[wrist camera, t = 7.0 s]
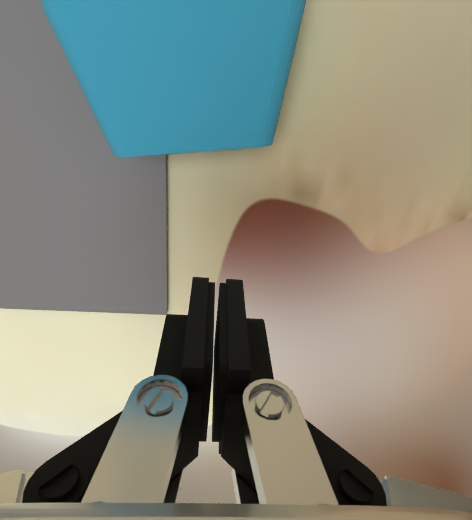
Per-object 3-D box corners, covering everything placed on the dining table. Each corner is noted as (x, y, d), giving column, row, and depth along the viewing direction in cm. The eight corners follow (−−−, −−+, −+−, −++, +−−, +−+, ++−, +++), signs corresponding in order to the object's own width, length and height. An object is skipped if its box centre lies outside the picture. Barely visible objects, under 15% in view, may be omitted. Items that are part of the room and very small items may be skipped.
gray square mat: (165, -6, 20) (164, -8, 19) (167, 310, 30) (166, 314, 30) (-276, -57, 18) (-290, -61, 17) (-109, 299, 28) (-115, 303, 28)
